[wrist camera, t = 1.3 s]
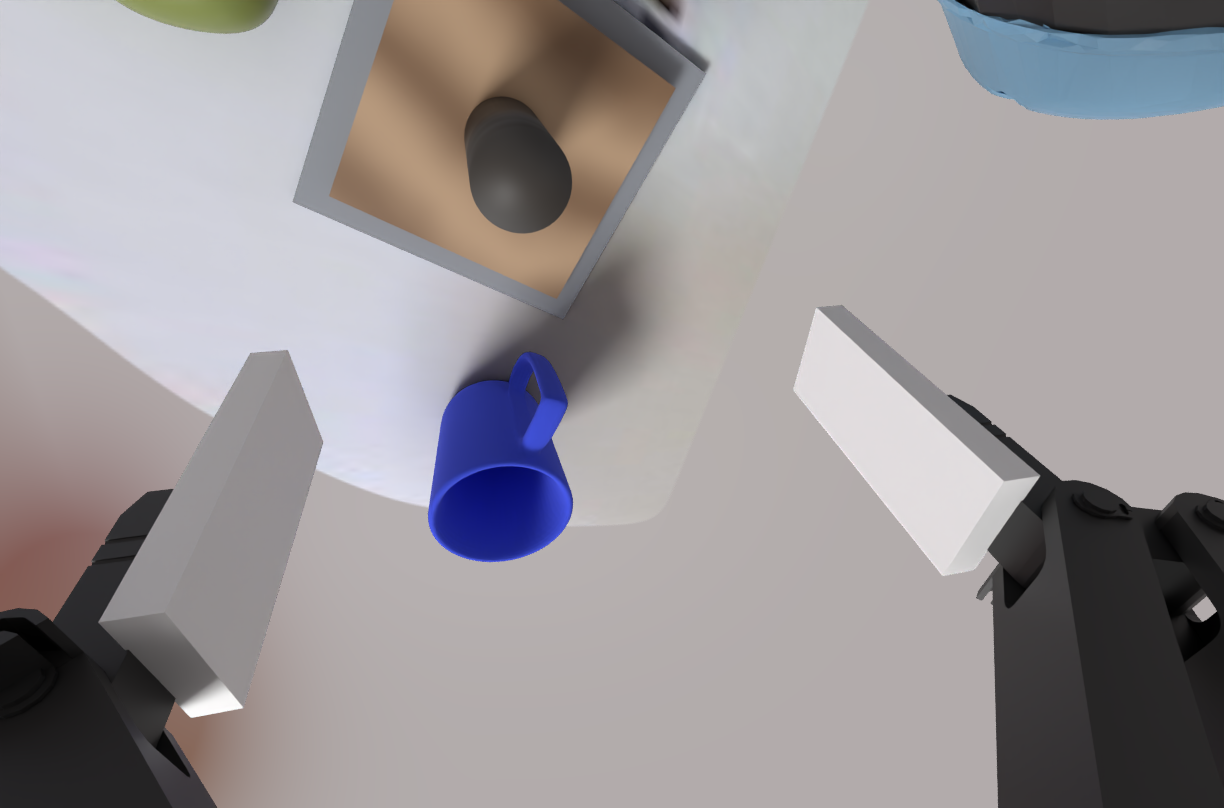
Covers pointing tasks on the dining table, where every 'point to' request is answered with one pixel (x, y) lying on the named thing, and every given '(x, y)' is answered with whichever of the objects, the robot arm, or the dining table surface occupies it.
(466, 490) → the mug
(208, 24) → the pear
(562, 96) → the lid
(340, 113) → the mat
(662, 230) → the dining table surface
